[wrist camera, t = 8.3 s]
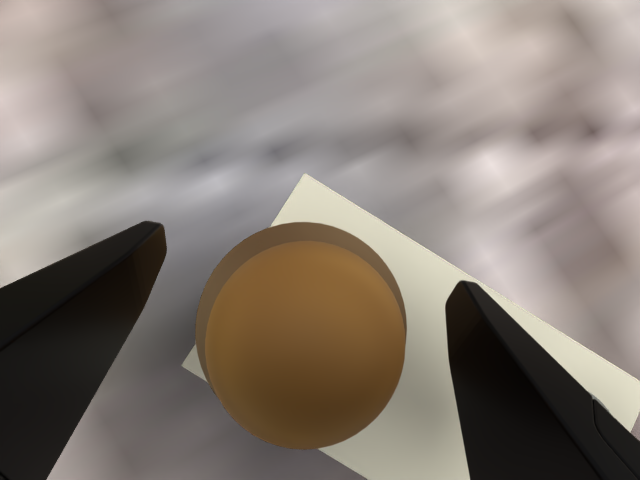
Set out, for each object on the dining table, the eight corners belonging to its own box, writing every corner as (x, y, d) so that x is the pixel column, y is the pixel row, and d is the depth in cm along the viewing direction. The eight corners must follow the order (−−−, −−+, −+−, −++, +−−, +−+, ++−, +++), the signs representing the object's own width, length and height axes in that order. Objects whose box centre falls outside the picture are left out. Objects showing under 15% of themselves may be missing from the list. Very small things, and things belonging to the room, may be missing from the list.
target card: (556, 586, 17) (571, 603, 16) (175, 355, 17) (169, 359, 16) (644, 388, 19) (661, 394, 18) (294, 171, 18) (294, 166, 17)
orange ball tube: (303, 371, 16) (337, 636, 4) (225, 307, 16) (44, 393, 4) (365, 292, 17) (546, 331, 5) (290, 230, 17) (290, 119, 5)
